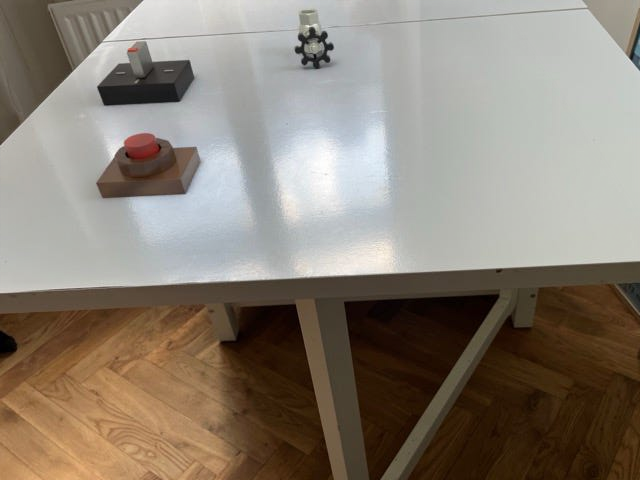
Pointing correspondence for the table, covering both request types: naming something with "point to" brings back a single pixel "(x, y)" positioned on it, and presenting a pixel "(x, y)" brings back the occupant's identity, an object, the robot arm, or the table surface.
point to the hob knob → (140, 59)
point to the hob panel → (147, 83)
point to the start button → (141, 146)
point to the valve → (312, 38)
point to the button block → (150, 172)
